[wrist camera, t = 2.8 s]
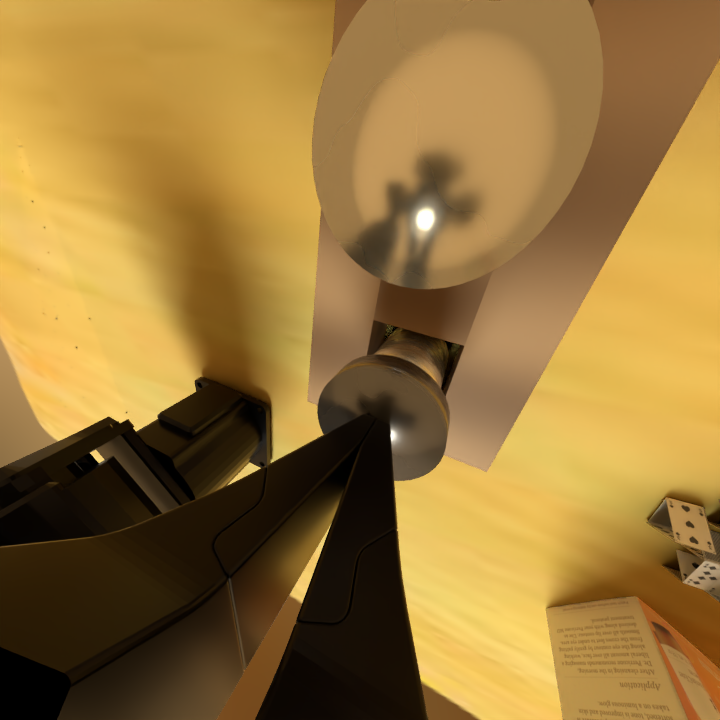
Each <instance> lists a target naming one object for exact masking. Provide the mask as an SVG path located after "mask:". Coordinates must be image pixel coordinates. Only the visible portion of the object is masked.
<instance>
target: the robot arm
mask: <svg viewBox="0 0 720 720" xmlns="http://www.w3.org/2000/svg"><path fill="white" fill-rule="evenodd" d="M195 387H196V392H195V393H193V394H192V395H190V396H188V397H186V398H185V399H183V400H181V401H180V402H178V403H176V404H174V405H173V406H171V407H169V408H168V409H166V410H164V411H162V412H161V413H160V414H158V416H157V417H158V419H157V420H155V421H154V422H152V423H150V424H149V425H147V426H145V427H143V428H142V429H140V430H138V431H137V432H136V431H135V430H134V429H133V427H134V426H133V424H132V423H131V422H130V421H129V419H128V420H126V421H124V422H122V423H119V422H117V421H116V420H114V419H112V418H110V417H107V418H105V419H103V420H101V421H99V422H97V423H95V424H93V425H91V426H89V427H87V428H85V429H83V430H81V431H79V432H77V433H75V434H73V435H71V436H69V437H67V438H65V439H63V440H60V441H58V442H56V443H54V444H52V445H50V446H47V447H45V448H43V449H41V450H39V451H37V452H34V453H32V454H30V455H28V456H26V457H23V458H21V459H19V460H17V461H15V462H12V463H10V464H8V465H6V466H4V467H2V468H0V720H216V719H217V718H218V715H219V714H220V712H221V711H222V709H223V707H224V706H225V704H226V702H227V701H228V699H229V697H230V696H231V694H232V692H233V690H234V689H235V687H236V685H237V683H238V682H239V680H240V678H241V677H242V675H243V673H244V670H245V669H246V668H247V666H248V665H249V663H250V661H251V659H252V657H253V656H254V654H255V652H256V651H257V649H258V647H259V646H260V644H261V642H262V641H263V639H264V637H265V635H266V634H267V632H268V630H269V629H270V627H271V625H272V624H273V622H274V620H275V618H276V617H277V615H278V613H279V611H280V610H281V608H282V606H283V605H284V603H285V601H286V600H287V598H288V596H289V594H290V593H291V591H292V589H293V588H294V586H295V584H296V582H297V581H298V579H299V577H300V576H301V574H302V572H303V570H304V569H305V567H306V565H307V564H308V562H309V560H310V559H311V557H312V555H313V553H314V552H315V550H316V548H317V547H318V545H319V543H320V541H321V540H322V538H323V536H324V535H325V533H326V531H327V529H328V528H329V526H330V524H331V523H332V524H331V526H330V529H329V532H328V535H327V537H326V540H325V543H324V546H323V548H322V551H321V554H320V557H319V559H318V562H317V565H316V568H315V570H314V573H313V576H312V579H311V581H310V584H309V587H308V590H307V592H306V595H305V598H304V600H303V603H302V606H301V609H300V612H299V614H298V617H297V621H296V624H295V626H294V628H293V631H292V633H291V636H290V639H289V641H288V644H287V647H286V649H285V652H284V654H283V657H282V659H281V662H280V665H279V667H278V669H277V671H276V674H275V676H274V678H273V681H272V683H271V685H270V688H269V690H268V692H267V694H266V696H265V699H264V701H263V703H262V706H261V708H260V710H259V712H258V714H257V717H256V719H255V720H428V716H427V711H426V706H425V701H424V695H423V690H422V685H421V679H420V674H419V669H418V663H417V658H416V653H415V647H414V642H413V637H412V631H411V626H410V621H409V615H408V610H407V604H406V598H405V591H404V585H403V579H402V571H401V561H400V551H399V539H398V531H397V514H396V500H395V486H394V472H393V459H392V445H391V431H390V424H389V423H387V422H385V421H382V420H380V419H377V420H376V419H375V418H374V417H372V416H369V415H367V414H362V415H360V416H358V417H356V418H354V419H353V420H351V421H349V422H347V423H345V424H343V425H341V426H339V427H338V428H336V429H334V430H332V431H330V432H328V433H326V434H325V435H323V436H321V437H319V438H317V439H315V440H313V441H312V442H310V443H308V444H306V445H304V446H302V447H300V448H298V449H297V450H295V451H293V452H291V453H289V454H287V455H285V456H284V457H282V458H280V459H278V460H276V461H274V462H272V463H270V409H269V407H268V405H267V404H266V403H264V402H262V401H260V400H257V399H255V398H252V397H250V396H248V395H245V394H243V393H240V392H238V391H235V390H233V389H231V388H228V387H226V386H223V385H221V384H219V383H216V382H214V381H211V380H209V379H207V378H204V377H200V378H198V379H196V380H195ZM95 449H96V450H97V451H98V452H99V453H100V455H101V456H102V457H103V458H104V459H105V460H104V461H102V462H101V463H98V462H97V461H96V460H95V458H94V457H93V456H92V455H91V454H90V452H92V451H94V450H95ZM249 462H250V463H252V464H254V465H256V466H258V467H260V468H261V469H259V470H257V471H255V472H253V473H252V474H250V475H248V476H246V477H244V478H242V479H240V480H238V481H236V482H234V483H232V484H230V485H228V484H229V483H230V481H231V480H232V479H233V478H234V477H235V476H236V475H237V474H238V473H239V472H240V471H241V470H242V469H243V468H244V467H245V466H246V465H247V464H248V463H249ZM227 485H228V486H227Z"/></svg>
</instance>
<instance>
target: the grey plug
mask: <svg viewBox="0 0 720 720" xmlns="http://www.w3.org/2000/svg"><path fill="white" fill-rule="evenodd" d="M447 362H448V349H447V346H446V343H445V341H444V340H442V339H438V338H435V337H431V336H428V335H424V334H421V333H417V332H414V331H410V330H407V329H403V328H400V327H399V328H397V329H396V330H395V331H393V332H392V333H391V334H390V336H389V337H388V338H387V339H386V340H385V342H384V343H383V344H382V345H381V346H380V348H379V349H378V350H377V351H376V352H375V353H374V354H373V355H366V356H362V357H359V358H357V359H354V360H352V361H351V362H349V363H348V364H346V365H345V366H344V367H343V368H342V369H341V370H340V371H339V372H338V373H337V374H336V375H335V376H334V377H333V378H332V379H331V380H330V381H329V382H328V383H327V385H326V386H325V387H324V389H323V391H322V392H321V395H320V398H319V401H318V419H319V423H320V427H321V429H322V432H323V434H324V435H325V434H326V433H328V432H330V431H332V430H334V429H336V428H338V427H339V426H341V425H343V424H345V423H347V422H349V421H351V420H353V419H354V418H356V417H358V416H360V415H362V414H367V415H369V416H372V417H374V418H375V419H376V420H377V419H380V420H382V421H385V422H387V423H389V424H390V431H391V445H392V459H393V472H394V481H405V480H412V479H415V478H419V477H421V476H424V475H426V474H427V473H429V472H430V471H432V470H433V469H434V468H435V467H436V466H437V465H438V464H439V462H440V461H441V459H442V457H443V455H444V452H445V449H446V443H447V437H448V431H449V424H450V411H449V406H448V402H447V400H446V397H445V395H444V393H443V391H442V389H441V386H442V382H443V378H444V374H445V370H446V366H447Z"/></svg>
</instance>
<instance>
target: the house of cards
mask: <svg viewBox="0 0 720 720" xmlns="http://www.w3.org/2000/svg"><path fill="white" fill-rule="evenodd" d="M662 501H664V502H663V503H662V504H661V505H660V507H659V508H658V509H657V510H656V512H655V513H654V514H653V515H652V517H651V518H650V519H649V520H648V522H646V523H648V524H649V525H651V526H652V527H654V528H655V529H657V530H658V531H659V532H661V533H662V534H664V535H665V536H667V537H668V538H670V539H671V540H673V541H674V542H677V543H679V544H681V545H682V546H684V547H685V548H687V549H688V550H690V551H691V552H693V553H694V554H696V555H697V556H696V555H693V554H689V553H686V552H683V551H680V550H677V549H676V553H677V557H678V562H679V567H680V571H678V570H675V569H672V568H669V567H666V566H663V565H662V566H663V567H664V568H665V569H667V570H668V571H669V572H670V573H672V574H673V575H674V576H675V577H676V578H678V579H679V580H680V581H681V582H682V583H684V584H687V585H690V586H693V587H696V588H699V589H702V590H705V592H707V593H708V594H710V595H711V596H712V597H714V598H715V599H716V600H717V601H719V602H720V533H719V532H715V531H712V530H710V528H709V524H711V525H713V526H715V527H717V528H719V529H720V525H719V524H715V523H712V522H708V520H707V517H706V513H705V510H704V509H705V508H704V507H701V506H697V505H693V504H690V503H686V502H682V501H679V500H675V499H671V498H667V497H666V499H665V500H662ZM719 502H720V500H719ZM708 523H709V524H708ZM689 546H690V547H689Z"/></svg>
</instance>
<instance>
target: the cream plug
mask: <svg viewBox="0 0 720 720" xmlns="http://www.w3.org/2000/svg"><path fill="white" fill-rule="evenodd" d="M602 92H603V56H602V49H601V41H600V34H599V30H598V27H597V24H596V20H595V17H594V14H593V10H592V7H591V5H590V3H589V1H588V0H367V1H366V2H365V4H364V5H363V6H362V7H361V9H360V10H359V11H358V12H357V14H356V15H355V17H354V18H353V20H352V22H351V23H350V25H349V26H348V28H347V29H346V31H345V33H344V34H343V36H342V38H341V40H340V42H339V44H338V46H337V48H336V50H335V52H334V54H333V56H332V59H331V61H330V64H329V67H328V69H327V72H326V74H325V77H324V80H323V84H322V87H321V91H320V94H319V98H318V102H317V108H316V113H315V118H314V127H313V138H312V162H313V173H314V180H315V186H316V191H317V195H318V199H319V202H320V206H321V209H322V212H323V214H324V216H325V219H326V221H327V224H328V226H329V228H330V229H331V231H332V233H333V235H334V237H335V238H336V240H337V241H338V242H339V244H340V245H341V247H342V248H343V249H344V251H345V252H346V253H347V254H348V255H349V256H350V257H351V258H352V259H353V260H354V261H355V262H356V263H357V264H358V265H360V266H361V267H362V268H363V269H365V270H366V271H368V272H369V273H371V274H372V275H374V276H375V277H378V278H380V279H382V280H384V281H386V282H389V283H392V284H395V285H398V286H402V287H408V288H413V289H437V288H446V287H451V286H455V285H460V284H463V283H466V282H468V281H471V280H474V279H477V278H479V277H481V276H483V275H485V274H487V273H489V272H491V271H493V270H495V269H496V268H498V267H499V266H501V265H502V264H504V263H506V262H507V261H509V260H510V259H511V258H513V257H514V256H515V255H516V254H518V253H519V252H520V251H521V250H523V249H524V248H525V247H526V246H527V245H528V244H529V243H530V242H531V241H532V240H533V239H534V238H535V237H536V236H537V235H538V234H539V233H540V232H541V231H542V230H543V229H544V228H545V226H546V225H547V224H548V223H549V222H550V220H551V219H552V218H553V217H554V215H555V214H556V213H557V211H558V210H559V208H560V207H561V205H562V204H563V202H564V201H565V199H566V198H567V196H568V195H569V193H570V191H571V190H572V188H573V186H574V184H575V182H576V180H577V178H578V176H579V174H580V172H581V170H582V168H583V165H584V163H585V160H586V158H587V155H588V153H589V150H590V147H591V145H592V141H593V138H594V134H595V130H596V126H597V122H598V119H599V113H600V106H601V99H602Z"/></svg>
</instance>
